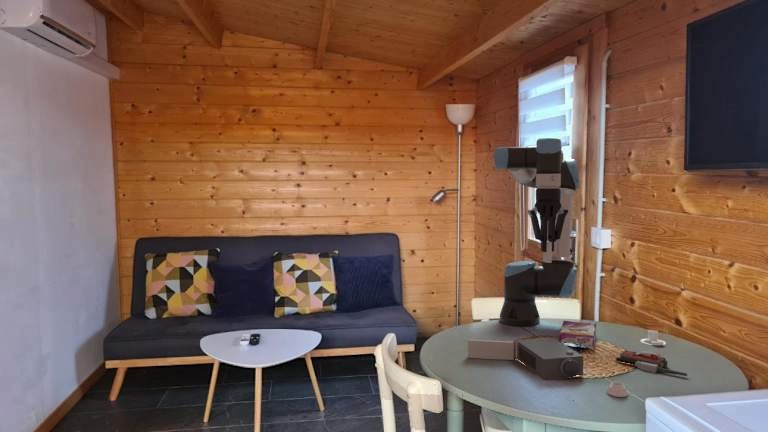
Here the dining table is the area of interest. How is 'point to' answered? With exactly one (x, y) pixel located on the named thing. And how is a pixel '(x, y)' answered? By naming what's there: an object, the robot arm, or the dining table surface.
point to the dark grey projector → (549, 358)
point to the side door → (492, 349)
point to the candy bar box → (578, 333)
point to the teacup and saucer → (653, 339)
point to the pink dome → (617, 389)
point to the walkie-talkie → (647, 361)
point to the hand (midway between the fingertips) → (547, 262)
